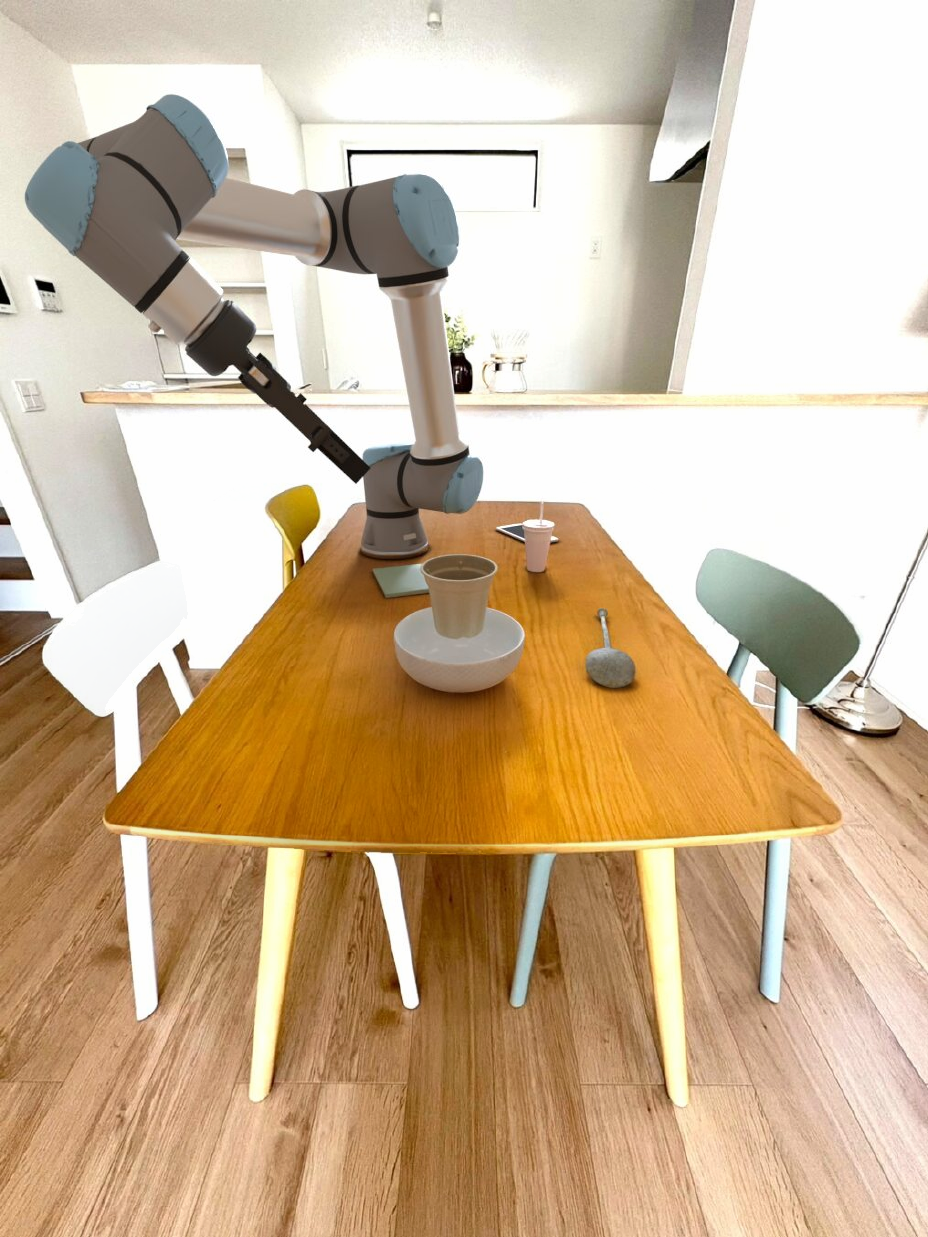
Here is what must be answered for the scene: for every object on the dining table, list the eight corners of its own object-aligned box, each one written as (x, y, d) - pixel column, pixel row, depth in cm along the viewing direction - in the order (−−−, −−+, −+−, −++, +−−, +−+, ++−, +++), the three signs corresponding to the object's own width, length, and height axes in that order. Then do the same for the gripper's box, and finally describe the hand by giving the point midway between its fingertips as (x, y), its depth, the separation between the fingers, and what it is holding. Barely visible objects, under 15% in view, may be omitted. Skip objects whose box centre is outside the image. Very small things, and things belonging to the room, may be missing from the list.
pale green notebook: (373, 572, 106) (372, 568, 106) (439, 565, 110) (438, 561, 110) (385, 598, 94) (385, 594, 94) (459, 589, 98) (459, 585, 98)
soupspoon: (583, 689, 69) (634, 696, 68) (587, 667, 67) (640, 675, 66) (582, 614, 88) (622, 619, 87) (585, 596, 86) (626, 601, 85)
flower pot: (489, 650, 62) (491, 583, 59) (413, 642, 64) (410, 576, 60) (500, 617, 71) (502, 556, 67) (433, 611, 72) (431, 551, 69)
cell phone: (533, 546, 122) (533, 543, 122) (495, 529, 134) (495, 527, 134) (559, 541, 125) (559, 538, 125) (520, 525, 138) (520, 523, 138)
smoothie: (537, 576, 104) (541, 507, 98) (513, 568, 109) (516, 501, 102) (557, 569, 108) (563, 502, 102) (534, 561, 112) (538, 496, 106)
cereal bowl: (420, 726, 60) (418, 674, 57) (381, 660, 74) (378, 615, 71) (546, 693, 67) (550, 645, 64) (489, 638, 80) (490, 596, 77)
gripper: (177, 336, 65) (308, 453, 79) (186, 368, 46) (355, 513, 61) (217, 290, 64) (341, 417, 78) (242, 303, 46) (399, 466, 60)
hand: (347, 459), depth 70 cm, fingers open, 13 cm apart
